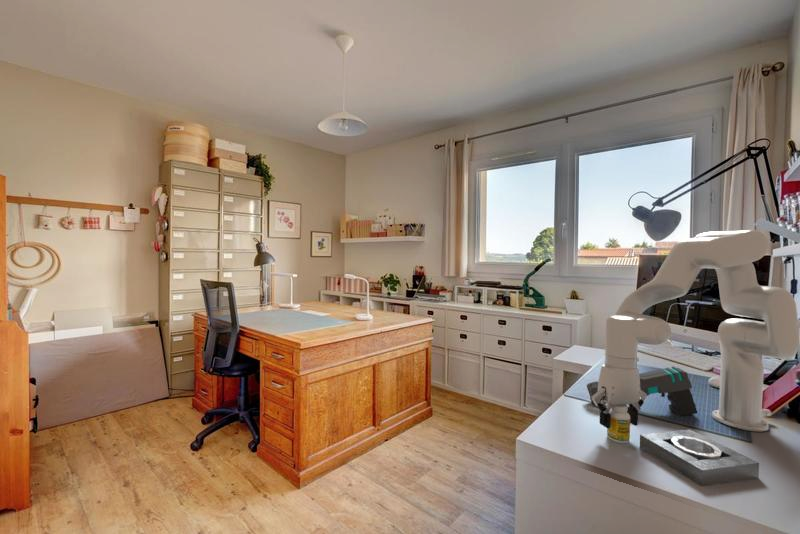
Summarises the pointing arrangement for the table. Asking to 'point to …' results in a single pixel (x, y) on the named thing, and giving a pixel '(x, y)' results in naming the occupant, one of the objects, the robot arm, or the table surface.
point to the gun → (664, 388)
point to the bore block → (699, 457)
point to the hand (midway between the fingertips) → (618, 424)
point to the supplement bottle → (619, 424)
